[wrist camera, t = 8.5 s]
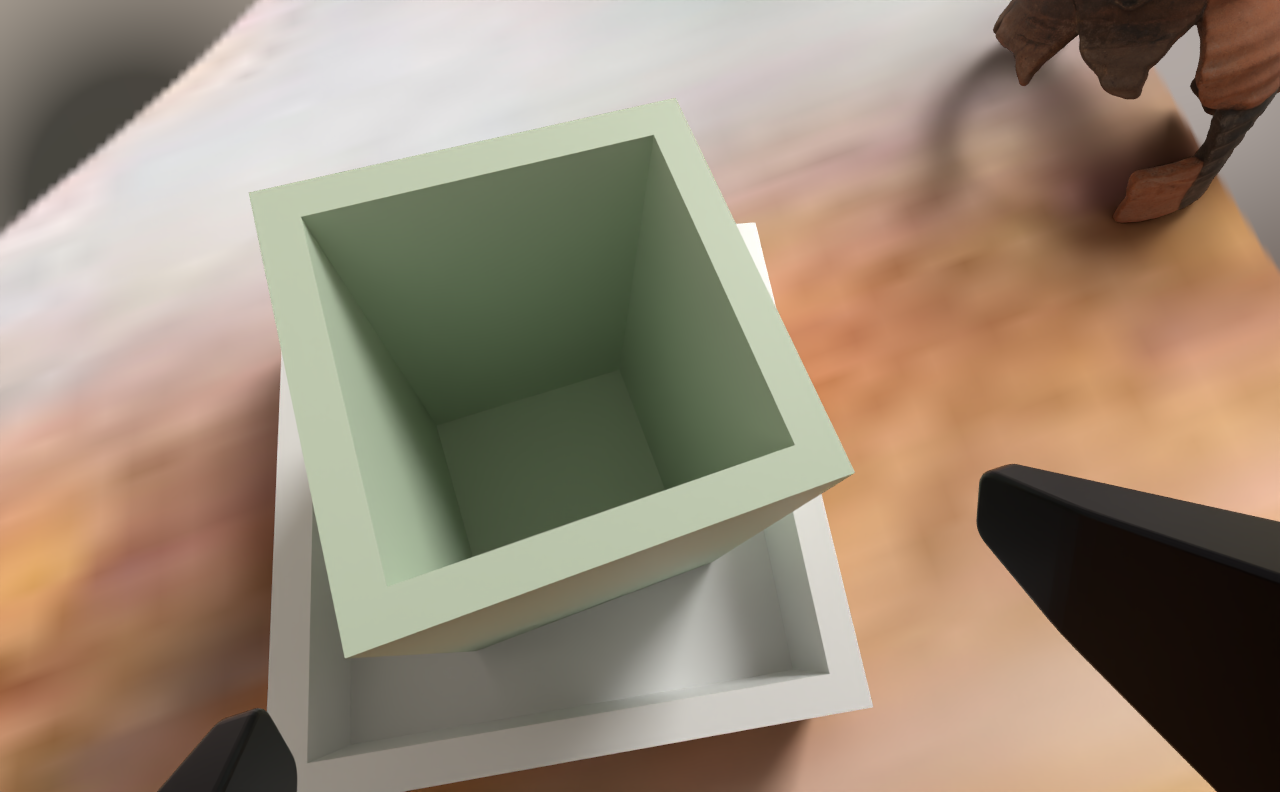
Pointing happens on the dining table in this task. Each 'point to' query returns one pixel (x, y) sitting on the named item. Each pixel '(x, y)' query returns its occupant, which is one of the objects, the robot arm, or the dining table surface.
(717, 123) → the dining table surface
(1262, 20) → the pottery mug
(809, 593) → the grey crate
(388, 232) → the green crate
